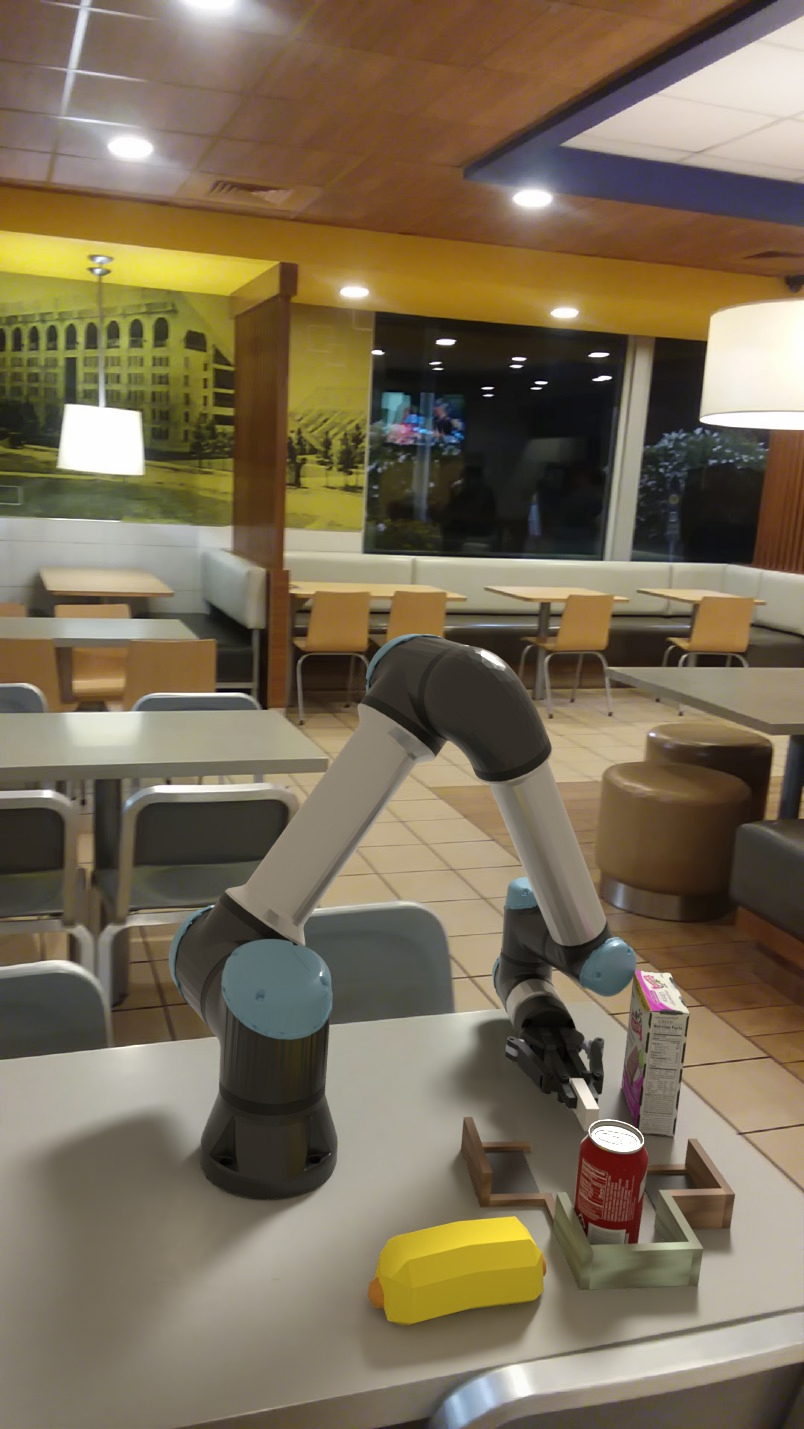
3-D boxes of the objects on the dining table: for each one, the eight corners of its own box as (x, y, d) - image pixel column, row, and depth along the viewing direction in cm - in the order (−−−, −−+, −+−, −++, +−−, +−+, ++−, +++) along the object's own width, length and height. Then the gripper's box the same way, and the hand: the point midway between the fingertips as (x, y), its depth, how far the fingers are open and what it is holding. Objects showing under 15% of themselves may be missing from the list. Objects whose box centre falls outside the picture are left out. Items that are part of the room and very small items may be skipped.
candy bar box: (618, 1086, 140) (632, 968, 137) (656, 1089, 140) (671, 971, 137) (634, 1135, 129) (650, 1008, 126) (675, 1139, 129) (692, 1012, 126)
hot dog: (354, 1284, 101) (378, 1344, 94) (358, 1221, 100) (383, 1277, 93) (527, 1253, 107) (562, 1308, 100) (533, 1193, 106) (569, 1245, 99)
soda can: (629, 1273, 105) (642, 1163, 103) (562, 1250, 108) (574, 1142, 105) (643, 1233, 111) (656, 1128, 109) (579, 1212, 114) (591, 1109, 112)
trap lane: (507, 1292, 101) (511, 1255, 101) (460, 1148, 124) (463, 1116, 123) (765, 1282, 105) (771, 1246, 104) (675, 1144, 128) (679, 1113, 127)
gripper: (585, 1045, 144) (644, 1149, 121) (490, 1045, 143) (531, 1150, 120) (590, 993, 143) (651, 1089, 120) (495, 992, 141) (538, 1089, 118)
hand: (591, 1119), depth 120 cm, fingers closed
